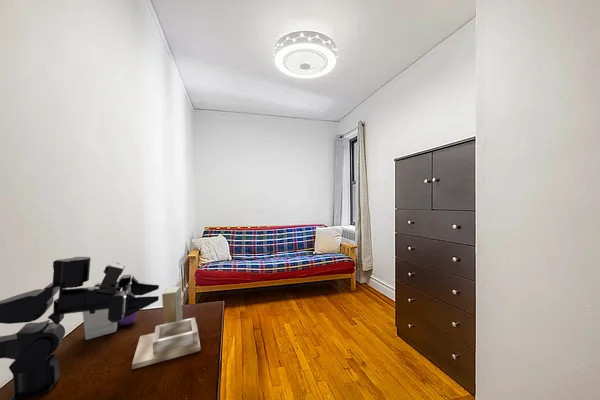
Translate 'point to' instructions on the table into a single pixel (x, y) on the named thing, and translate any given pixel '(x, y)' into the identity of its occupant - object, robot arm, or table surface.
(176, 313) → the skincare box
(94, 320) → the skincare box
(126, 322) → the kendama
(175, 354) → the collar holder
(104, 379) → the table surface
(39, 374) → the robot arm
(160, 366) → the table surface
